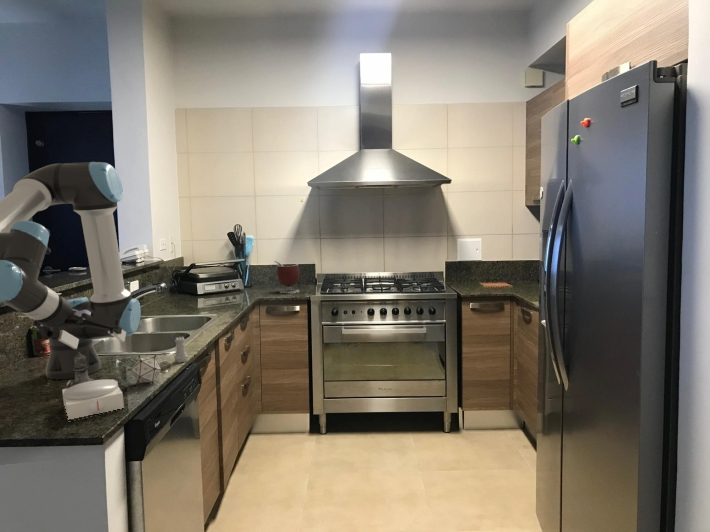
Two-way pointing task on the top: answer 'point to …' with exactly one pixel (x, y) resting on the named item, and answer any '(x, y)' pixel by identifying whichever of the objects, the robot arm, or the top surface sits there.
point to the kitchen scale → (92, 398)
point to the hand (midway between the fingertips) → (100, 340)
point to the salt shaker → (80, 370)
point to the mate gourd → (288, 276)
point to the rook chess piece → (180, 350)
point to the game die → (145, 369)
